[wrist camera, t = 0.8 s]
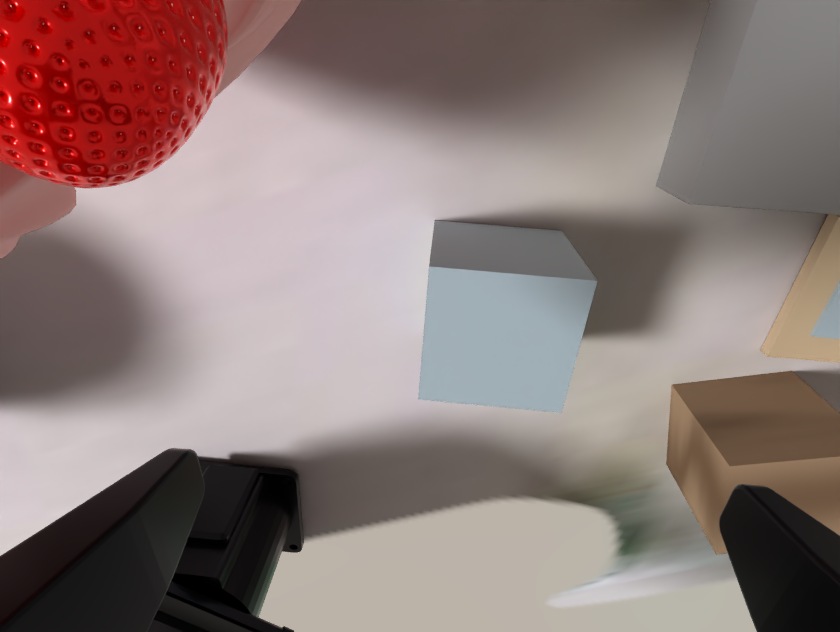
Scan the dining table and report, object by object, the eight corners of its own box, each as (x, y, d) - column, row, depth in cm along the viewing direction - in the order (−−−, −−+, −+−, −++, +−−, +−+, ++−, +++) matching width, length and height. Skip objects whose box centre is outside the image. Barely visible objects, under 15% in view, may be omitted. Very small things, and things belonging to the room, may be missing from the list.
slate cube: (537, 339, 20) (561, 412, 16) (425, 328, 20) (418, 399, 16) (561, 230, 18) (597, 280, 13) (434, 219, 18) (429, 266, 14)
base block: (843, 197, 17) (915, 219, 14) (652, 184, 17) (688, 203, 14) (958, -38, 14) (1080, -65, 11) (720, -51, 14) (784, -81, 11)
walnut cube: (772, 452, 22) (851, 545, 18) (665, 462, 23) (716, 554, 19) (790, 369, 20) (885, 452, 16) (670, 383, 21) (729, 466, 16)
